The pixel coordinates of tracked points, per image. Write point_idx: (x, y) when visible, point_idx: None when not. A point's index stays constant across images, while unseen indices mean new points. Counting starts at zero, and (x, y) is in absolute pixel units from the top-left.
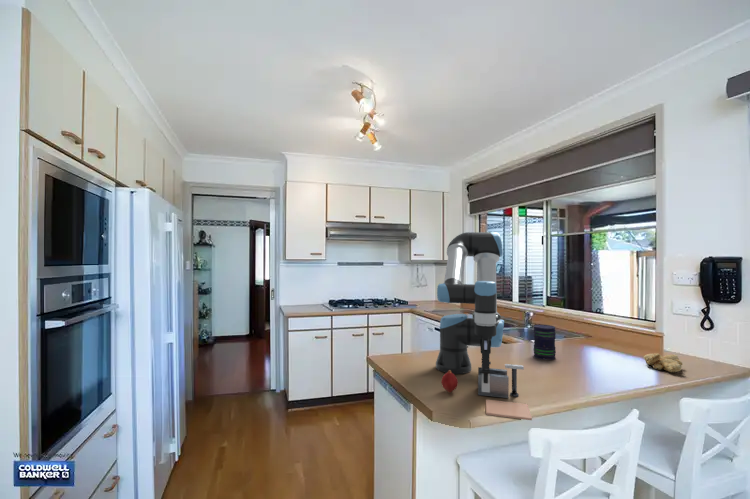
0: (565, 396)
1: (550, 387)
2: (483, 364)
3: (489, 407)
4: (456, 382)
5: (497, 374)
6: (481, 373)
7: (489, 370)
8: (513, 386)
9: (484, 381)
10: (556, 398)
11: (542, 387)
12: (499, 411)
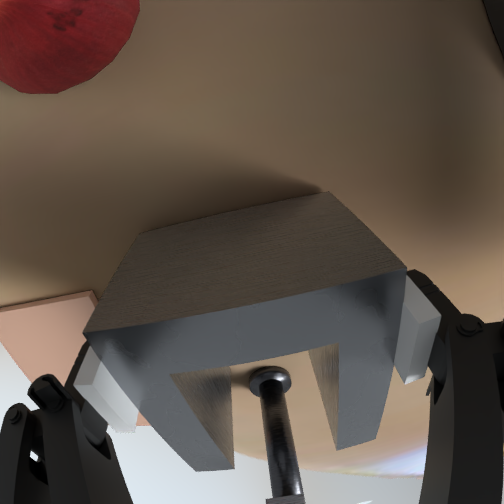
0: (331, 455)
1: (404, 419)
2: (2, 479)
3: (23, 321)
4: (31, 91)
5: (330, 393)
6: (149, 355)
7: (44, 464)
8: (263, 418)
9: (84, 353)
10: (304, 450)
11: (401, 409)
12: (26, 354)
